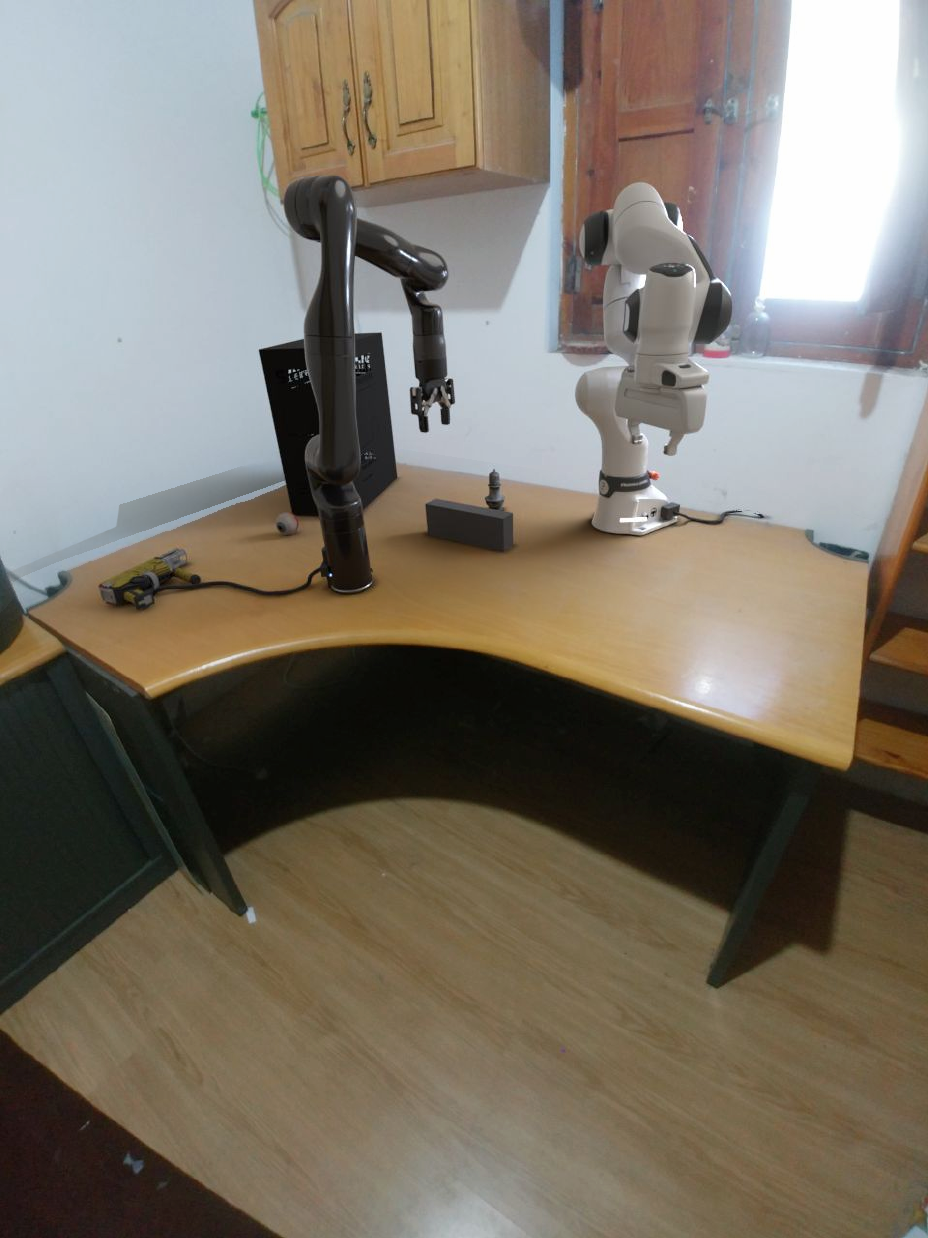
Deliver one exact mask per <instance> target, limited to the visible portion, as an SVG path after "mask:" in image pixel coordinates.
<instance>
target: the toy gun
mask: <svg viewBox="0 0 928 1238" xmlns="http://www.w3.org/2000/svg"><path fill="white" fill-rule="evenodd" d="M183 556H185V560H184V559H181V558H182V557H183ZM188 562H189V560H188V554H187V551H186V549H183V548H181V549H180V548H179V547H175V548H174V549H172V550H169V551H168V552H165V553H163V554H161V555H159V556H155V557H152V558H151V559H148V560H146V561H145V562H142V563H140V564H138V565H136V566H134V567H132V568H130V569H128V570H125V571H123V572H121V573H119V574H117V575H115V576H113V577H111V578H108V579H106V580H104V581H102V582H100V583H99V584H98V589H99V592H100V596H101V599H102V601H103V602H105V604H106V605H110V606H111V605H114V604H115V605H121V604H126V603H132V604H134V605H135V609H136V611H141V610H144V609H145V608H147V607H149V606H153V605H154V604H155V603H156V602H155V599H154V596H153V593H152V592H153V591H154V590H155V589H157V588H159V587H160V584H164V583H166V582H168V581H171V580H172V579H173V578H176V579H179V580H182V581H183V582H186V583H188V584H190V585H192V584H198V583H202V579H201V576H200V575H199V574H195V573H193V572H190V571H187V570H185V569H183V568H181V566H183V565H185V564H188Z"/></svg>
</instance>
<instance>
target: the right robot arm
mask: <svg viewBox="0 0 928 1238" xmlns="http://www.w3.org/2000/svg"><path fill="white" fill-rule="evenodd" d="M578 246H579V250H580V253H581V256H582V260H583V261H584V262H585V263H586V265H588V266H591V267H601V266H610V267H609V268H608V270H607V271H606V273H605V274H606V275H605V278H604V279H605V280H604V284H603V285H604V287H603V296H602V315H603V318H602V319H603V338H604V339H603V340H604V344H605V346H606V348H607V349H608V351H609V352H611V353H612V354H613V355H615V356H616V357H617V356H618V358H621V359H623V360H624V361H625V362H626V363H627V365H621V366H620V365H619V366H603V367H599V368H595V369H592V370H591V369H590V370H588V371H584V373H582V375H581V376H580V377H579V378H578V380H577V383H576V385H575V390H574V399H575V403H576V405H577V407H578V409H579V410H580V412H581V413H582V414H583V415H585V416H586V417H588V418H589V419H590V420H591V421H592V422H593V424H594V426H595V427H596V429H597V431H598V434H599V436H600V437H599V438H600V443H601V468H600V470H599V474H598V492H599V493H598V498H597V502H596V507H595V511H594V514H593V517H592V520H591V525H592V526H593V527H594V528H595V529H597V530H599V531H601V532H605V533H611V534H623V535H625V534H626V535H632V536H633V535H634V536H645V535H646V534H650V533H652V532H654V531H657V530H660V529H662V528H665V527H668V526H670V525H672V524H675V523H677V522H678V516H680V517H682V518H685V519H686V520H689V521H694V522H698V523H703V524H718V523H722V521H724V517H725V515H730V514H735V513H737V514H738V513H743V512H742V511H737V510H738V509H733V510H725V511H724V512H722V513H721V515H720V518H719V519H715V520H714V519H713V520H711V519H710V520H709V519H701V518H696V517H693V516H689V515H687V514H685V513H682V512H680V510H681V504H680V503H676V502H673V501H672V502H670V501H669V498H668V497H667V496H666V495H665V494H664V493H663V492H661V491H660V490H659V489H658V488H656V487H655V486H654V485H652V483H651V480H653V481H658V479H659V478H660V473H659V472H657V471H654V470H651V471H649V470H648V469H647V466H648V458H649V457H648V456H649V446H650V443H649V440H648V438H647V437H646V435H645V434H644V433H643V432H641V430H640V425H641V424H644V425H647V426H650V427H651V426H652V427H654V428H659V429H663V430H666V431H669V434H668V436H669V437H670V439H669V441H668V443H666V444H663V451H662V452H663V455H665V456H669V457H671V456H672V457H673V456H675V455H677V451H678V445H679V444H680V443H681V441H682V440H683V438H684V436H685V435H690V434H696V433H698V432H700V430H701V429H702V428H703V426H704V422H705V417H706V410H707V399H708V398H707V395H708V394H707V390H706V388H705V387H704V385H707V384H708V382H709V379H710V373H709V371H708V370H707V369H705V368H703V367H702V366H701V365H699V364H698V363H696V362H695V361H694V360H693V359H692V358H689V357H690V344H692V345H693V344H694V345H710V344H711V343H713V342H715V341H716V340H717V339H718V338H719V337H720V336H722V334H723V333H724V332H725V331H726V330H727V329H728V327H729V325H730V323H731V320H732V319H731V318H732V314H733V297H732V294H731V292H730V291H729V288H727V286H726V285H725V284H724V283H723V282H722V281H721V280H720V279H719V278H718V277H717V276H716V274H715V272H714V270H713V269H712V267H711V265H710V263H709V261H708V260H707V258H706V256H705V254H704V253H703V251H702V249H701V248H700V246H699V244H698V242H697V241H696V240H695V238H694V237H692V236H691V235H689V234H688V233H686V232H684V231H683V221H682V216H681V210H680V208H679V206H678V205H677V204H675V203H672V202H667V201H663V199H662V197H661V195H660V193H659V192H658V190H657V189H655V187H654V186H653V185H651V184H650V183H648V182H643V181H638V182H633V183H631V184H629V185H627V186H626V187H625V188H623V189H622V190H621V192H620V193H619V194H618V195H617V196H616V199H615V201H614V203H613V208H610V209H607V210H603V209H601V210H598V211H596V212H593V213H591V214H589V215H588V216H587V217H586V218H585V219H584V221H583V222H582V226H581V229H580V233H579V239H578ZM735 510H736V511H735ZM754 514H755V515H757V516H758V517H759V518H762V519H765V518H766V517H765V516H764V514H762V513H761V514H756V513H754Z"/></svg>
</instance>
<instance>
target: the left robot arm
mask: <svg viewBox="0 0 928 1238" xmlns="http://www.w3.org/2000/svg"><path fill="white" fill-rule="evenodd" d="M282 202H283V211H284V215H285V218H286V220H287V224H288V225H289V226H290V227H291V229H292V230H293V231H294V233H295V234H297V235H298V236H299V237H301V238H302V239H304V240H308V241H312V242H316V243H320V271H319V276H318V280H317V284H316V287H315V289H314V292H313V294H312V296H311V299H310V302H309V304H308V305H307V306H308V307H307V308H306V309H307V310H306V312H305V316H304V320H303V339H304V348H305V360H306V366H307V370H306V371H308V372H307V373H308V375H309V379H310V381H309V382H311V385H312V389H313V392H314V395H315V398H316V402H317V406H318V411H319V421H320V434H317V435H315V436H314V437H313V438H312V439H311V440H310V441H309V443H308V444H307V447H306V451H305V462H306V469H307V474H308V478H309V483H310V488H311V492H312V496H313V499H314V502H315V504H316V506H317V509H318V513H319V516H318V518H319V523H320V530H321V534H322V540H323V547H321V549H320V551H321V556H322V561H321V564H320V566H318V567H317V568H315V569H314V570H313V571H311V572H310V573H309V574H308V576H307V580H306V582H305V583H304V584H302V585H301V586H298V587H296V588H292V589H286V590H272V591H271V590H270V591H269V590H261V589H258V588H254V587H252V586H247V585H243V584H239V583H236V582H232V581H224V580H215V581H213V580H212V581H205V582H200V583H198V584H183V585H182V584H181V585H180V584H176V585H175V584H172V585H171V584H169V585H162V586H159V588H157V589H155V590H154V591H152V593H153V597H155V596H156V595H157V594H158V593H160V592H162V591H167V590H193V589H198V588H205V587H212V586H228V587H232V588H237V589H240V590H243V591H248V592H252V593H254V594H258V595H262V596H283V595H290V594H293V593H296V592H299V591H303V590H305V589H307V588H309V586H310V585H311V583H312V579H313V577H314V576H315V575H317V574H319V573H320V577H321V578H325V579H326V583H327V588H329V589H331V590H332V591H334V592H335V593H338V594H343V595H350V594H357V593H362V592H364V591H366V590H368V589H370V588H372V586H373V584H374V578H373V573H374V570H373V568H372V565H371V559H370V551H369V545H368V538H367V531H366V524H365V517H364V510H363V509H362V502H361V498H360V496H359V495H358V493H357V491H356V489H355V487H354V485H353V480H354V479H355V478H356V476H357V474H358V472H359V469H360V464H361V455H360V446H359V438H358V430H357V421H356V390H355V368H356V367H355V366H356V365H355V361H356V358H355V338H354V337H355V333H356V332H355V309H354V308H355V300H354V299H355V297H354V296H355V291H354V290H355V288H354V287H355V265H356V263H355V262H356V257H357V258H359V259H361V260H363V261H365V262H366V263H369V264H371V265H372V266H374V267H376V268H378V269H379V270H381V271H383V272H385V273H386V274H388V275H390V276H392V277H394V278H397V279H399V280H400V285H401V288H402V291H403V294H404V297H405V300H406V304H407V307H408V310H409V313H410V318H411V329H412V353H413V354H412V355H413V364H414V365H413V366H414V376H415V379H416V380H418V386H411V387H410V388H409V401H410V402H409V403H410V414H411V415H414V416H417V420H418V429H419V432H420V433H423V434H427V433H429V432H430V425H429V416H428V414H429V411H430V408H432V406H433V404H436V403H437V404H438V405H439V407H440V409H439V412H440V423H441V425H444V426H448V425H450V424H451V407H452V405H455V404H456V397H455V384H454V379H453V378H449V377H448V358H447V357H448V356H447V345H446V338H445V327H444V315H443V314H444V313H443V309H442V307H441V305H438V304H436V303H433V302H430V301H429V300H428V298H427V296H426V292H437V291H440V290H443V288H445V286H446V285H447V283H448V280H449V277H450V275H449V266H448V264H447V262H446V260H445V258H444V257H443V256H442V255H441V254H439V253H438V252H437V251H435V250H433V249H430V248H427V247H425V246H421V245H418V244H415V243H411V242H410V241H409V240H407V239H406V238H404V237H403V236H401V235H400V234H398V232H397V233H396V232H395V231H393V230H392V229H389V228H388V227H385V226H383V225H380V224H377V223H375V222H372V221H368V220H365V219H362V218H359V217H358V210H357V203H356V197H355V193H354V191H353V189H352V187H351V184H350V183H349V182H348V181H347V180H346V179H345V178H344V177H343V176H341V175H338V174H323V175H321V174H320V175H308V176H303V177H298V178H296V179H294V180H292V181H291V182H290V183H289V184H288V185H287V186H286V188H285V191H284V193H283V201H282ZM447 377H448V378H447Z"/></svg>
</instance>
